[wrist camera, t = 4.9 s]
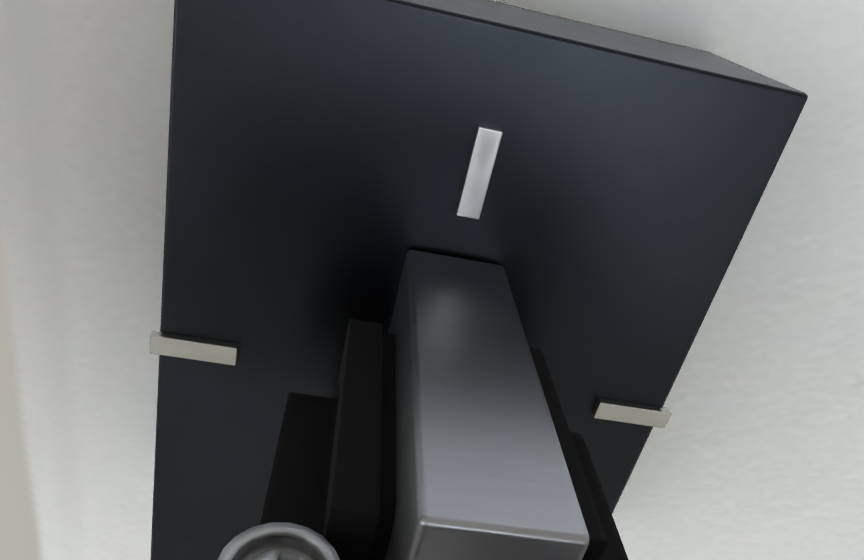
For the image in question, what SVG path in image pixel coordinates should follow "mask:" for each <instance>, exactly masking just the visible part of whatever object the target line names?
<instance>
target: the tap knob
mask: <svg viewBox="0 0 864 560" xmlns="http://www.w3.org/2000/svg"><path fill="white" fill-rule="evenodd" d="M388 334H394V335H395V412H396V507H395V516H394V523H393V529H392V533H391V538H390V541H389V545H388V549H387V552H386V556H385V560H582V558H583V556H584V554H585V552H586V550H587V547H588V544H589V534H588V531H587V528H586V525H585V522H584V519H583V515H582V512H581V509H580V506H579V503H578V500H577V497H576V493H575V490H574V487H573V484H572V481H571V478H570V474H569V471H568V468H567V465H566V462H565V459H564V456H563V452H562V449H561V446H560V443H559V440H558V437H557V434H556V430H555V427H554V424H553V421H552V418H551V415H550V412H549V408H548V405H547V402H546V399H545V396H544V393H543V389H542V386H541V383H540V380H539V377H538V374H537V371H536V367H535V364H534V361H533V358H532V355H531V352H530V349H529V345H528V342H527V339H526V336H525V333H524V330H523V327H522V323H521V320H520V317H519V314H518V311H517V308H516V305H515V301H514V298H513V295H512V292H511V289H510V286H509V282H508V279H507V276H506V273H505V270H504V268H503V267H502V266H500V265H495V264H490V263H484V262H478V261H473V260H467V259H461V258H456V257H450V256H444V255H439V254H433V253H427V252H422V251H416V250H409V251H408V253H407V254H406V257H405V262H404V266H403V271H402V275H401V280H400V284H399V289H398V293H397V297H396V302H395V306H394V311H393V315H392V320H391V324H390V329H389V333H388Z"/></svg>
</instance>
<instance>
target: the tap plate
mask: <svg viewBox="0 0 864 560" xmlns="http://www.w3.org/2000/svg"><path fill="white" fill-rule="evenodd" d="M807 98H808V96H807V94H805V93H804V92H801V91H799V90H797V89H794V88H792V87H790V86H787V85H785V84H783V83H780V82H778V81H776V80H773V79H771V78H769V77H766V76H764V75H762V74H759V73H757V72H755V71H752V70H750V69H748V68H745V67H743V66H741V65H738V64H736V63H734V62H731V61H729V60H727V59H724V58H722V57H720V56H717V55H715V54H712V53H710V52H706V51H702V50H697V49H693V48H689V47H685V46H680V45H676V44H672V43H668V42H663V41H659V40H655V39H651V38H646V37H642V36H638V35H634V34H629V33H625V32H621V31H617V30H612V29H608V28H604V27H600V26H595V25H591V24H587V23H583V22H578V21H574V20H570V19H566V18H561V17H557V16H553V15H549V14H544V13H540V12H536V11H532V10H527V9H523V8H519V7H515V6H510V5H506V4H502V3H497V2H493V1H489V0H175V1H174V25H173V48H172V71H171V95H170V118H169V142H168V165H167V189H166V212H165V235H164V259H163V282H162V306H161V329H160V332H157V331H153V332H152V334H151V336H150V353H151V354H158V355H159V376H158V399H157V423H156V446H155V470H154V493H153V517H152V540H151V560H218V558H219V556H220V554H221V552H222V550H223V548H224V547H225V546H226V545H227V544H228V543H229V542H230V541H231V540H232V539H233V538H234V537H235V536H237V535H239V534H240V533H242V532H244V531H246V530H248V529H250V528H251V527H254V526H258V525H260V523H261V518H262V513H263V509H264V504H265V499H266V495H267V490H268V486H269V481H270V476H271V472H272V467H273V463H274V458H275V453H276V449H277V444H278V439H279V435H280V430H281V426H282V421H283V416H284V412H285V407H286V402H287V398H288V394H289V392H294V393H301V394H308V395H316V396H323V397H330V398H335V393H336V387H337V382H338V377H339V372H340V366H341V361H342V356H343V351H344V346H345V340H346V335H347V330H348V325H349V321H350V319H356V320H362V321H368V322H374V323H381V324H383V333H387V334H388V333H389V329H390V324H391V320H392V315H393V311H394V306H395V302H396V297H397V293H398V289H399V284H400V280H401V275H402V271H403V266H404V262H405V257H406V254H407V253H408V251H409V250H416V251H422V252H427V253H433V254H439V255H444V256H450V257H456V258H461V259H467V260H473V261H478V262H484V263H490V264H495V265H500V266H502V267H503V268H504V270H505V273H506V276H507V279H508V282H509V286H510V289H511V292H512V295H513V298H514V301H515V305H516V308H517V311H518V314H519V317H520V320H521V323H522V327H523V330H524V333H525V336H526V339H527V342H528V345H529V347H531V348H538V349H541V351H542V352H543V355H544V358H545V361H546V364H547V366H548V369H549V372H550V375H551V378H552V381H553V384H554V387H555V390H556V393H557V396H558V398H559V401H560V404H561V407H562V410H563V413H564V416H565V419H566V422H567V425H568V428H569V430H570V432H577V433H579V434H580V435H581V436H582V437H583V439H584V441H585V443H586V446H587V448H588V451H589V454H590V457H591V459H592V462H593V465H594V467H595V470H596V473H597V476H598V478H599V481H600V484H601V487H602V489H603V492H604V495H605V498H606V500H607V503H608V506H609V508H610V511H611V514H612V513H613V511H614V509H615V507H616V505H617V503H618V500H619V498H620V496H621V494H622V492H623V490H624V488H625V485H626V483H627V481H628V479H629V477H630V475H631V473H632V471H633V468H634V466H635V464H636V462H637V460H638V458H639V456H640V454H641V451H642V449H643V447H644V445H645V443H646V441H647V439H648V437H649V434H650V432H651V430H652V428H653V427H660V428H665V426H666V424H667V422H668V420H669V418H670V416H671V412H670V410H669V409H668V408H663V405H664V403H665V400H666V398H667V396H668V394H669V392H670V390H671V388H672V386H673V383H674V381H675V379H676V377H677V375H678V373H679V371H680V369H681V366H682V364H683V362H684V360H685V358H686V356H687V354H688V352H689V349H690V347H691V345H692V343H693V341H694V339H695V337H696V335H697V332H698V330H699V328H700V326H701V324H702V322H703V320H704V317H705V315H706V313H707V311H708V309H709V307H710V305H711V303H712V300H713V298H714V296H715V294H716V292H717V290H718V288H719V286H720V283H721V281H722V279H723V277H724V275H725V273H726V271H727V269H728V266H729V264H730V262H731V260H732V258H733V256H734V254H735V252H736V249H737V247H738V245H739V243H740V241H741V239H742V237H743V235H744V232H745V230H746V228H747V226H748V224H749V222H750V220H751V218H752V215H753V213H754V211H755V209H756V207H757V205H758V203H759V201H760V198H761V196H762V194H763V192H764V190H765V188H766V186H767V184H768V181H769V179H770V177H771V175H772V173H773V171H774V169H775V167H776V164H777V162H778V160H779V158H780V156H781V154H782V152H783V149H784V147H785V145H786V143H787V141H788V139H789V137H790V135H791V132H792V130H793V128H794V126H795V124H796V122H797V120H798V118H799V115H800V113H801V111H802V109H803V107H804V105H805V103H806V101H807Z"/></svg>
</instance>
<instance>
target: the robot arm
mask: <svg viewBox="0 0 864 560" xmlns="http://www.w3.org/2000/svg"><path fill="white" fill-rule="evenodd" d="M529 349H530V352H531V355H532V358H533V361H534V364H535V367H536V371H537V374H538V377H539V380H540V383H541V386H542V389H543V393H544V396H545V399H546V402H547V405H548V408H549V412H550V415H551V418H552V421H553V424H554V427H555V430H556V434H557V437H558V440H559V443H560V446H561V449H562V452H563V456H564V459H565V462H566V465H567V468H568V471H569V474H570V478H571V481H572V484H573V487H574V490H575V493H576V497H577V500H578V503H579V506H580V509H581V512H582V515H583V519H584V522H585V525H586V528H587V531H588V534H589V544H588V547H587V550H586V552H585V554H584V556H583V558H582V560H628V558H627V555H626V552H625V549H624V547H623V544H622V541H621V538H620V536H619V533H618V530H617V528H616V525H615V522H614V519H613V517H612V514H611V511H610V508H609V506H608V503H607V500H606V498H605V495H604V492H603V489H602V487H601V484H600V481H599V478H598V476H597V473H596V470H595V467H594V465H593V462H592V459H591V457H590V454H589V451H588V448H587V446H586V443H585V441H584V439H583V437H582V436H581V435H580V434H579V433H577V432H570V430H569V428H568V425H567V422H566V419H565V416H564V413H563V410H562V407H561V404H560V401H559V398H558V396H557V393H556V390H555V387H554V384H553V381H552V378H551V375H550V372H549V369H548V366H547V364H546V361H545V358H544V355H543V352H542V351H541V349H538V348H531V347H529ZM395 507H396V412H395V335H394V334H387V333H383V324H381V323H374V322H368V321H362V320H356V319H350V321H349V325H348V330H347V335H346V340H345V346H344V351H343V356H342V361H341V366H340V372H339V377H338V382H337V387H336V393H335V398H330V397H323V396H316V395H308V394H301V393H294V392H289V394H288V398H287V402H286V407H285V412H284V416H283V421H282V426H281V430H280V435H279V439H278V444H277V449H276V453H275V458H274V463H273V467H272V472H271V476H270V481H269V486H268V490H267V495H266V499H265V504H264V509H263V513H262V518H261V523H260V525H258V526H254V527H251V528H250V529H248V530H246V531H244V532H242V533H240V534H239V535H237V536H235V537H234V538H233V539H232V540H231V541H230V542H229V543H228V544H227V545H226V546H225V547H224V548H223V550H222V552H221V554H220V556H219V558H218V560H385V556H386V552H387V549H388V545H389V541H390V538H391V533H392V529H393V523H394V516H395Z"/></svg>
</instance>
